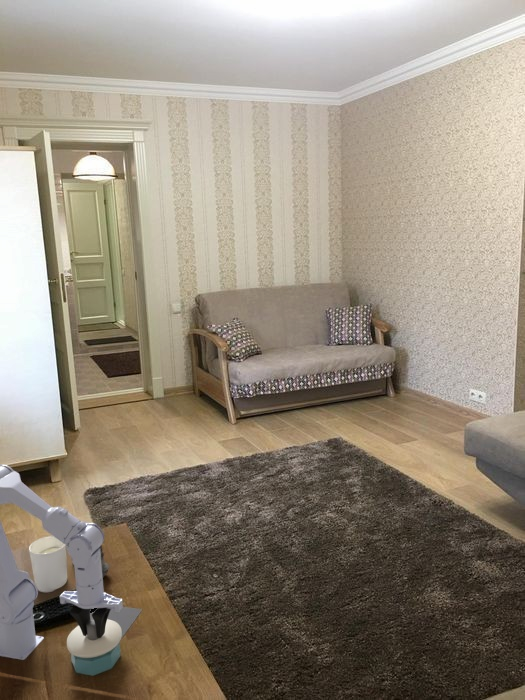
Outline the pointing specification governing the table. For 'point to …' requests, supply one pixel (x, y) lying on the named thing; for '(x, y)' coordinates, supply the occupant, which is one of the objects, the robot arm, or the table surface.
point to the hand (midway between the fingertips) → (94, 634)
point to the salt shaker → (103, 563)
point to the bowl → (96, 662)
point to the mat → (123, 617)
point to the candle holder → (48, 563)
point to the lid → (94, 640)
